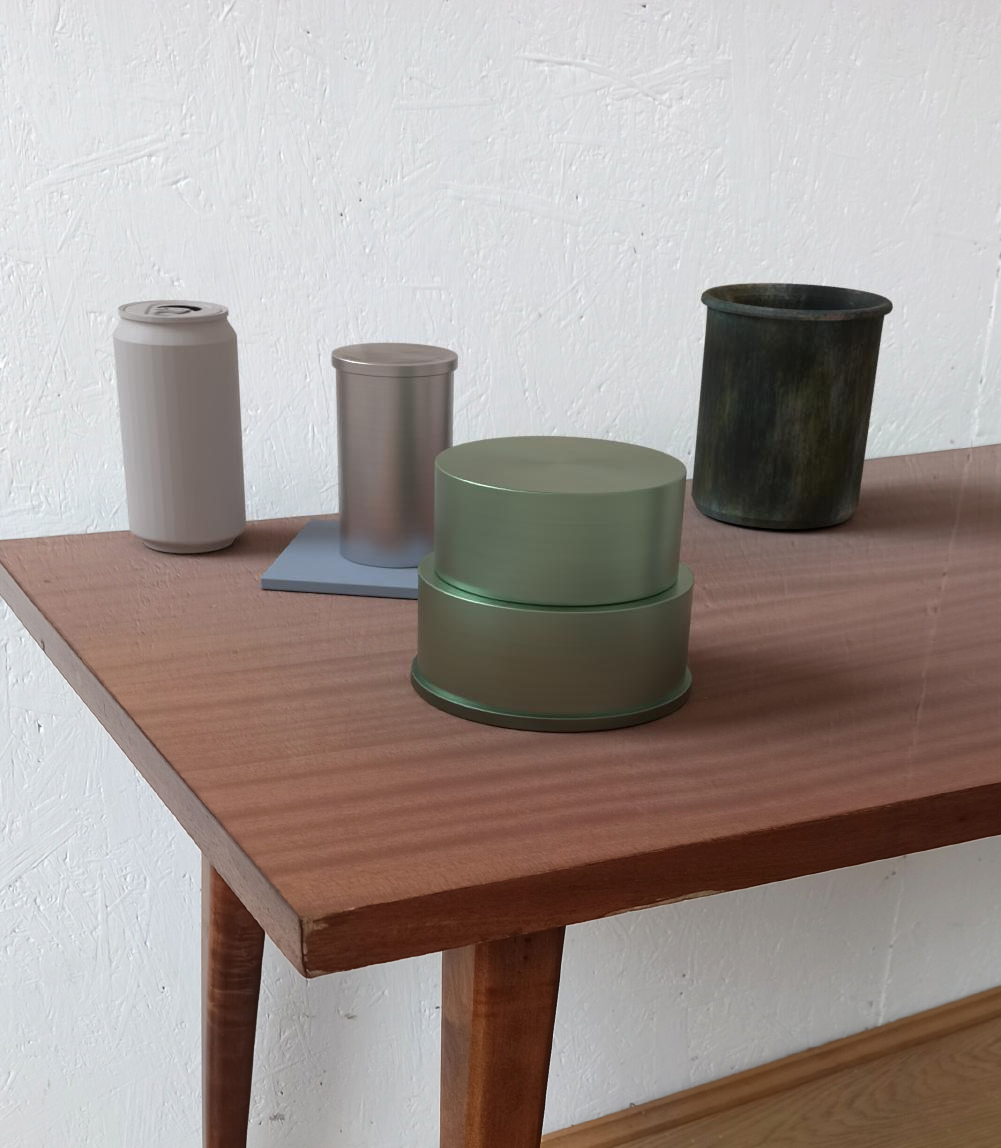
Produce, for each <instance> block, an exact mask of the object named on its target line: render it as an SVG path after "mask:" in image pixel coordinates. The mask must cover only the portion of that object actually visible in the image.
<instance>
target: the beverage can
mask: <svg viewBox="0 0 1001 1148" xmlns="http://www.w3.org/2000/svg"><path fill="white" fill-rule="evenodd" d="M117 312H118V316H119V317H120V319H119V322H118V323H117V324H116V327H115V328H114V330H113V332H112V341H113V353H114V366H115V376H116V390H117V400H118V411H119V425H120V436H121V446H122V447H121V448H122V460H123V470H124V472H123V473H124V482H125V483H124V484H125V494H126V507H127V517H128V518H127V521H128V527H129V531H130V532H131V533H132V535H134V536H135V537H137V538H138V539H140V540H141V541H142V542H143V544H144V545H145V546H146V547H148V548H150V549H152V550H155V551H157V552H163V553H170V554H201V553H208V552H214V551H219V550H221V549H225V548H227V547H229V546H231V545H232V544H233V543H234V541H235V539H236V538H238V537H240V536H241V535H242V534H243V533H245V531H246V529H247V513H246V512H247V511H246V510H247V509H246V493H245V472H244V453H243V452H244V451H243V432H242V431H243V430H242V428H243V427H242V411H241V391H240V369H239V349H238V334H237V332H236V331H235V329H234V327H233V326H232V325H231V323H230V322H229V319H228V317H229V307H228V306H225V305H222V304H218V303H215V302H209V301H200V300H184V299H183V300H182V299H163V300H162V299H157V300H142V301H134V302H130V303H125V304H122V305H120V306H119V307H118V308H117Z"/></svg>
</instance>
